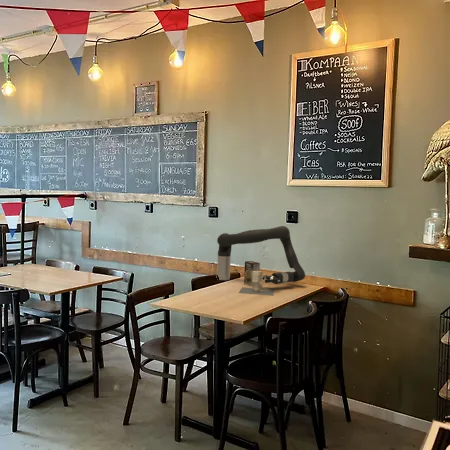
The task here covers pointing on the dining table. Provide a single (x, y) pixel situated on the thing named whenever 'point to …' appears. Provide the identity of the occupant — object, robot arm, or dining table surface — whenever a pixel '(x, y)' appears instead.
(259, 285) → the block
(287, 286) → the dining table surface
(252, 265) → the coffee box
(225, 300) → the dining table surface
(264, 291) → the mat
